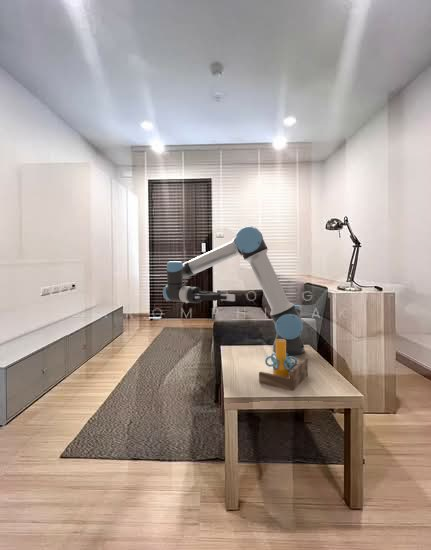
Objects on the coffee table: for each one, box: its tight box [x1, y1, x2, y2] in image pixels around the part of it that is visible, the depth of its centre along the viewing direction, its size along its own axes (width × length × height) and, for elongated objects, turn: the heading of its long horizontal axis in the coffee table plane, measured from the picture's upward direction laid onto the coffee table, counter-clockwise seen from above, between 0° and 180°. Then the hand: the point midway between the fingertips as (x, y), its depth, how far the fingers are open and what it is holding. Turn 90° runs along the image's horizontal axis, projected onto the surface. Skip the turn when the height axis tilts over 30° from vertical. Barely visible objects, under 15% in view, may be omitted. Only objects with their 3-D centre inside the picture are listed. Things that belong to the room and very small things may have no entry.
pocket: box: [258, 357, 309, 392], centre depth 122 cm, size 16×13×7 cm
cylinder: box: [264, 339, 298, 378], centre depth 124 cm, size 12×10×15 cm
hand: (234, 297), depth 135 cm, fingers closed
